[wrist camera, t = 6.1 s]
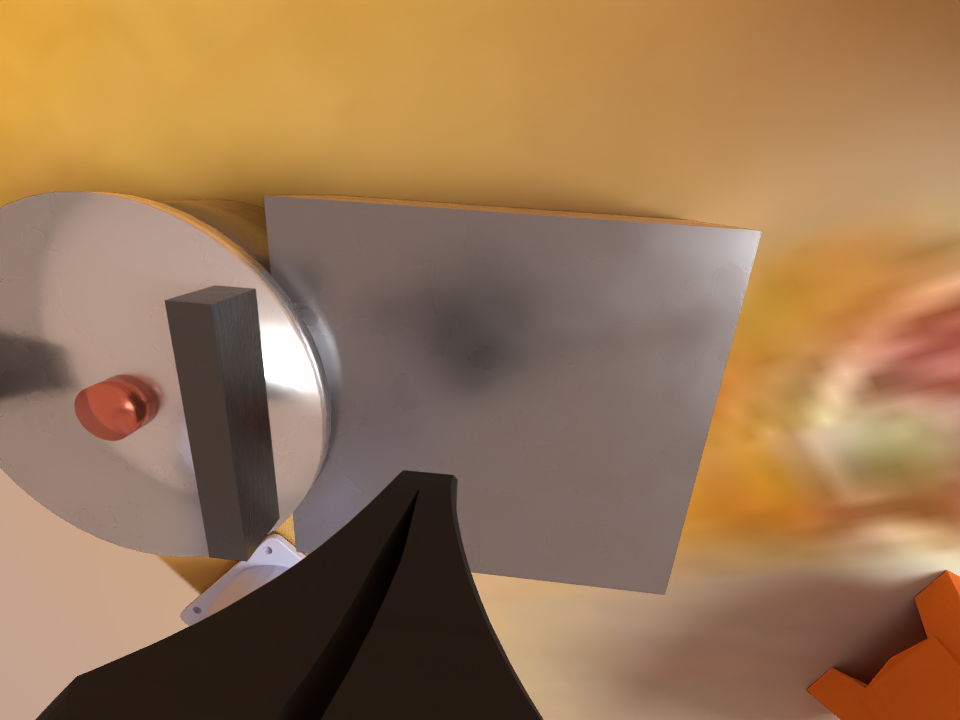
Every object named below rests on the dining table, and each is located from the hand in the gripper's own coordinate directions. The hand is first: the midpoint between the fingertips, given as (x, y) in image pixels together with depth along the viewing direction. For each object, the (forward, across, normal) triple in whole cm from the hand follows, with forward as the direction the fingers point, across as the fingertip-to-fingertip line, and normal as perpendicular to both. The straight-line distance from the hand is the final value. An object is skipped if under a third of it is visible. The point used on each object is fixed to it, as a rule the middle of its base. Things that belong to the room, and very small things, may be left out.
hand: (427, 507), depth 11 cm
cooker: (+10, +5, 0) cm, 12 cm away
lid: (+4, +10, 0) cm, 11 cm away
